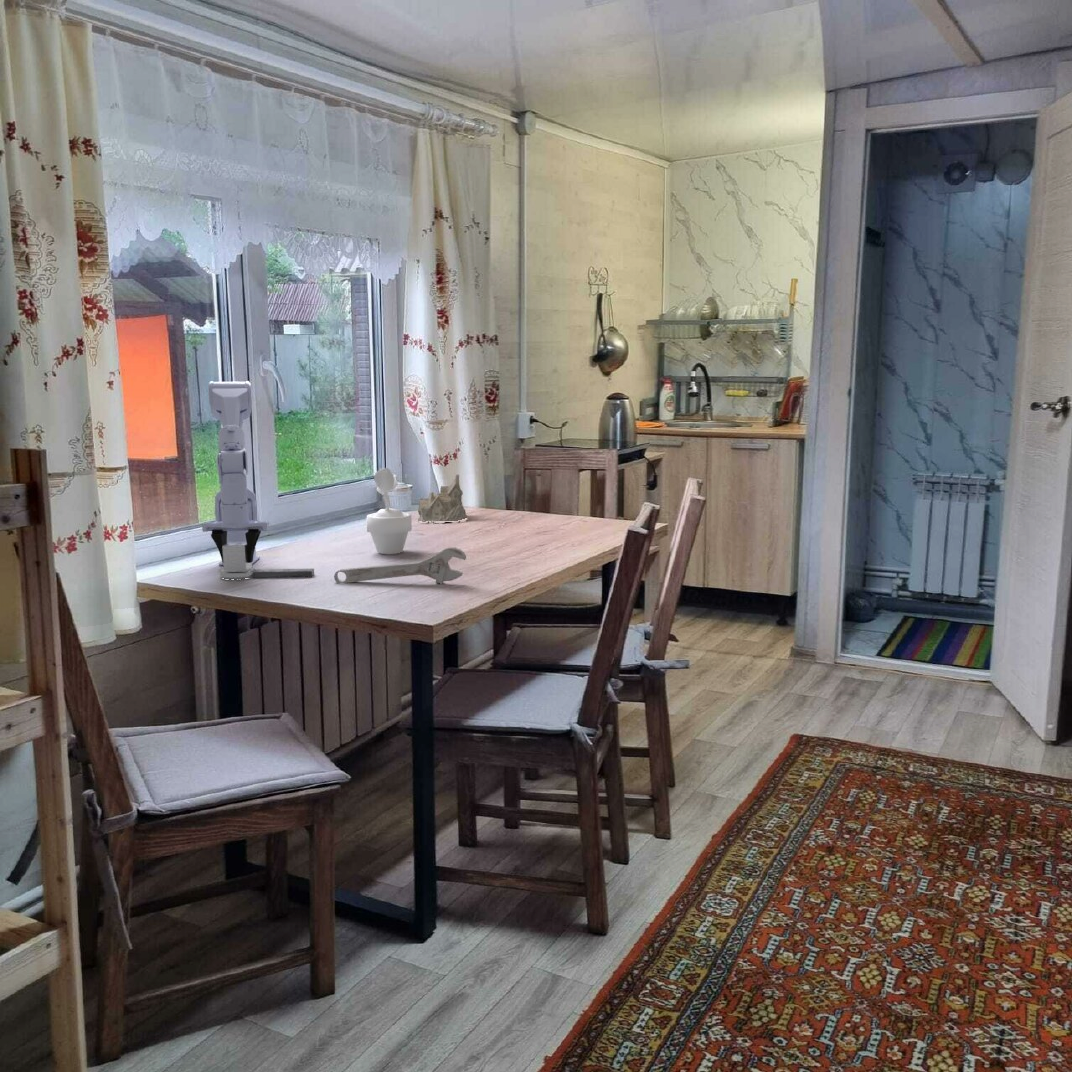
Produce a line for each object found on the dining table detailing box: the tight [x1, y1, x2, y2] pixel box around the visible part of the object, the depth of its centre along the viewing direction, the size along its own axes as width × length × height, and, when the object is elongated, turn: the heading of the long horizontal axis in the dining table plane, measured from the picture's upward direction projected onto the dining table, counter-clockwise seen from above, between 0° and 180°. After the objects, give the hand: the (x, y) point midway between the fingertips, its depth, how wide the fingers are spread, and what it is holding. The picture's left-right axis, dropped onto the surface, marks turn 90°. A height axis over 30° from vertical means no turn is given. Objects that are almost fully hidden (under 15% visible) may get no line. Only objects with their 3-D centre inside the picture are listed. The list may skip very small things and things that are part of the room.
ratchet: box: [219, 567, 315, 581], centre depth 232 cm, size 8×21×5 cm, turn 92°
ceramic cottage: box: [417, 474, 468, 522], centre depth 315 cm, size 16×16×15 cm
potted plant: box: [366, 458, 413, 555], centre depth 260 cm, size 13×12×25 cm
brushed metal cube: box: [222, 542, 253, 572], centre depth 231 cm, size 5×5×6 cm
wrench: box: [333, 546, 467, 585], centre depth 224 cm, size 8×2×30 cm
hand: (237, 562), depth 231 cm, fingers closed on brushed metal cube, 5 cm apart
